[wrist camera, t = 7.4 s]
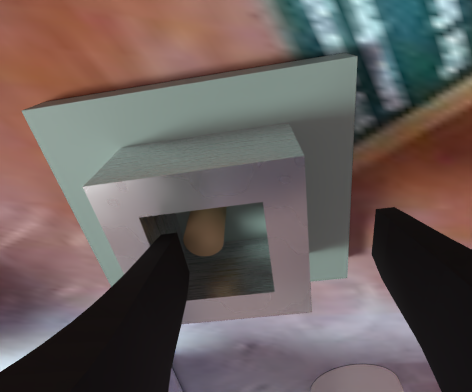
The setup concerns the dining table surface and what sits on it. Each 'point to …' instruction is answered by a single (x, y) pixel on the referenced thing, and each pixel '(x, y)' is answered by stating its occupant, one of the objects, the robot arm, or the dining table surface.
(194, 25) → the dining table surface
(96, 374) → the robot arm
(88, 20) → the dining table surface
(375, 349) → the dining table surface
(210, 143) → the grey boxy piece
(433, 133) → the dining table surface
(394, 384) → the cylindrical container
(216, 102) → the plate
